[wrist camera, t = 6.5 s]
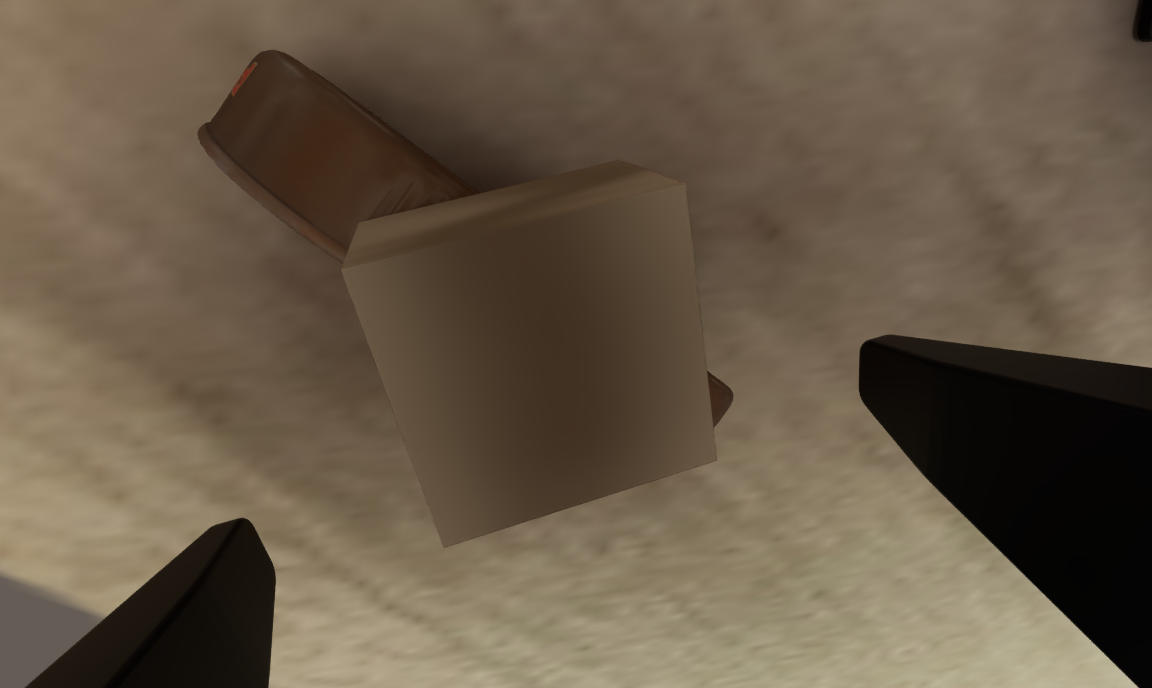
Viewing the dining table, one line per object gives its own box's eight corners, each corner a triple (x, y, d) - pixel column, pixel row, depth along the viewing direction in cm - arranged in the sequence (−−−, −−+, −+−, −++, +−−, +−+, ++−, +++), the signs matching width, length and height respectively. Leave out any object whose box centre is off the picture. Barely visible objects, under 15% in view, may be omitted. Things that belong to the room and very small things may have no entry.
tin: (243, 128, 18) (111, 162, 10) (305, 34, 17) (216, -4, 9) (622, 389, 24) (718, 532, 16) (676, 326, 23) (801, 443, 16)
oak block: (619, 159, 12) (685, 183, 9) (655, 383, 14) (717, 460, 11) (358, 222, 11) (340, 269, 8) (437, 448, 13) (443, 547, 10)
